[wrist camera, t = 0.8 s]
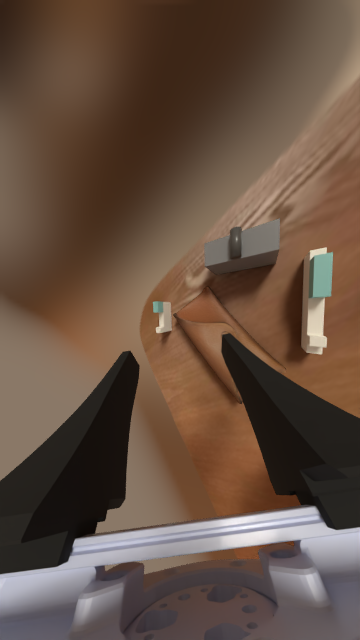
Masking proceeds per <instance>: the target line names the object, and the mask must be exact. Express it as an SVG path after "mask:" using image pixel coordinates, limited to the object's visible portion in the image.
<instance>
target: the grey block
mask: <svg viewBox="0 0 360 640" xmlns="http://www.w3.org/2000/svg"><path fill="white" fill-rule="evenodd" d="M279 233H280V218H279V219H276V220H273V221H270V222H267V223H264V224H261V225H258V226H256V227H253V228H250V229H247V230H244V231H242V228H241V227H234V228H232V229H231V230H230V235H229V236H226V237H223V238H220V239H217V240H214V241H211V242H208V243H205V267H206V268H208V269H209V270H210V271H212V272H213V273H215V274H216V275H218V274H223V273H228V272H234V271H239V270H245V269H250V268H256V267H261V266H266V265H272V264H276V260H277V256H278V252H279Z"/></svg>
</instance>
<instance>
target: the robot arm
mask: <svg viewBox="0 0 360 640" xmlns="http://www.w3.org/2000/svg"><path fill="white" fill-rule="evenodd" d="M221 353H222V356H223V358H224V361H225V364H226V366H227V368H228V370H229V372H230V375H231V377H232V379H233V381H234V383H235V385H236V387H237V389H238V391H239V393H240V396H241V398H242V400H243V403H244V405H245V408H246V411H247V413H248V416H249V419H250V421H251V424H252V427H253V430H254V432H255V435H256V438H257V441H258V444H259V447H260V450H261V453H262V456H263V459H264V462H265V465H266V468H267V471H268V474H269V477H270V481H271V483H272V486H273V488H274V490H275V493H276V495H297V497H298V500H299V502H300V504H301V505H300V506H293V507H286V508H278V509H271V510H264V511H257V512H249V513H242V514H235V515H227V516H220V517H213V518H206V519H199V520H191V521H184V522H177V523H170V524H162V525H155V526H147V527H140V528H133V529H125V530H118V531H111V532H104V533H96V534H95V531H96V527H97V522H102V521H105V519H106V514H107V510H109V509H115V508H119V507H120V506H121V505H122V503H123V502H124V500H125V494H126V468H127V454H128V442H129V431H130V422H131V415H132V409H133V404H134V399H135V394H136V389H137V384H138V379H139V364H138V363H137V361H136V359H135V358H134V356H133V354H132V353H131V351H126V352H123V353H122V354H121V355H120V356H119V358H118V359H117V361H116V362H115V363H114V365H113V366H112V367H111V369H110V370H109V371H108V373H107V374H106V375H105V377H104V378H103V379H102V381H101V382H100V383H99V384H98V385H97V387H96V388H95V389H94V390H93V392H92V393H91V394H90V396H89V397H88V398H87V399H86V400H85V401H84V402H83V403H82V405H81V406H80V407H79V408H78V409H77V410H76V411H75V412H74V413H73V414H72V415H71V416H70V417H69V418H68V419H67V420H66V421H65V423H63V424H62V425H61V426H60V427H59V428H58V429H57V431H55V432H54V433H53V434H52V435H51V436H50V437H49V438H48V439H47V440H46V441H45V442H44V443H43V444H42V445H41V446H40V447H39V448H37V449H36V450H35V451H34V452H33V453H32V454H31V455H30V456H29V457H28V458H27V459H25V460H24V461H23V462H22V463H21V464H20V465H19V466H17V467H16V468H15V469H14V470H13V471H12V472H10V473H9V474H8V475H7V476H6V477H5V478H3V479H2V480H1V481H0V640H360V418H358V417H356V416H354V415H352V414H350V413H347V412H346V411H344V410H342V409H340V408H338V407H336V406H334V405H332V404H331V403H329V402H327V401H325V400H323V399H321V398H320V397H318V396H316V395H315V394H313V393H311V392H309V391H308V390H306V389H304V388H303V387H301V386H299V385H298V384H296V383H294V382H293V381H291V380H290V379H288V378H287V377H285V376H284V375H282V374H281V373H279V372H278V371H276V370H275V369H273V368H272V367H271V366H269V365H268V364H266V363H265V362H264V361H262V360H261V359H260V358H259V357H257V356H256V355H255V354H254V353H252V352H251V351H250V350H249V349H248V348H246V347H245V346H244V345H243V344H242V343H241V342H240V341H238V340H237V339H236V338H235V337H234V336H233V335H232V334H231V333H228V334H222V347H221ZM288 541H294V546H292V545H289V544H286V543H280V542H288ZM273 543H275V544H273ZM265 544H272V545H269V546H267V547H264V548H261V549H259V551H258V554H259V558H260V559H234V560H233V559H229V560H212V561H204V562H197V563H191V564H186V565H181V566H177V567H173V568H169V569H165V570H161V571H157V572H152V573H148V574H144V565H143V563H139V562H134V561H142V560H149V559H156V558H165V557H172V556H180V555H187V554H196V553H203V552H211V551H219V550H226V549H234V548H242V547H249V546H257V545H265ZM118 563H121V564H119V565H117V566H115V567H113V568H111V569H109V570H108V571H105V565H111V564H118Z"/></svg>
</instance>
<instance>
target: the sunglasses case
mask: <svg viewBox="0 0 360 640" xmlns="http://www.w3.org/2000/svg"><path fill="white" fill-rule="evenodd" d="M173 316H174V317H175V318H176V319H177V321H178V322H179V324H180V325H181V327H182V328H183V330H184V331H185V333H186V334H187V335H188V337H189V338H190V340H191V341H192V342H193V344H194V345H195V346H196V348H197V349H198V351H199V352H200V353H201V354H202V356H203V357H204V358H205V360H206V361H207V363H208V364H209V365H210V367H211V368H212V369H213V371H214V372H215V373H216V375H217V376H218V377H219V378H220V380H221V381H222V382H223V383H224V385H225V386H226V387H227V388H228V390H229V391H230V392H231V393H232V394H233V396H234V397H235V398H236V399H237V401H238V402H239V403H240V404H242V402H243V400H242V398H241V396H240V393H239V391H238V389H237V387H236V385H235V383H234V381H233V379H232V377H231V375H230V372H229V370H228V368H227V366H226V364H225V361H224V358H223V356H222V353H221V347H222V334H228V333H231V334H232V335H233V336H234V337H235V338H236V339H237V340H238V341H240V342H241V343H242V344H243V345H244V346H245V347H246V348H248V349H249V350H250V351H251V352H252V353H254V354H255V355H256V356H257V357H259V358H260V359H261V360H262V361H264V362H265V363H266V364H268V365H269V366H271V367H272V368H273V369H275V370H276V371H278V372H279V373H285V372H286V369H285V368H284V367H283V366H282V365H281V364H280V363H279V362H278V361H276V360H275V359H274V358H273V357H272V356H271V355H270V354H268V353H267V352H266V351H265V350H264V349H263V348H262V347H261V346H260V345H259V344H258V343H257V342H256V341H255V340H254V339H253V338H252V337H251V336H250V335H249V334H248V332H246V330H245V329H244V328H243V327H242V326H241V325H240V324H239V323H238V322H237V321H236V320H235V319H234V318H233V316H232V315H231V314H230V313H229V312H228V311H227V310H226V308H225V307H224V306H223V305H222V304H221V303H220V302H219V300H218V299H217V298H216V296H215V295H214V294H213V292H212V291H211V289H210V288H209V287H206V288H204V290H203V291H202V293H201V294H199V295H198V296H197V297H196V298H195V299H193V300H192V301H191V302H190V303H189V304H187V305H186V306H185V307H183V308H182V309H181V310H180V311H178V312H177V313H175V314H173Z"/></svg>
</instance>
